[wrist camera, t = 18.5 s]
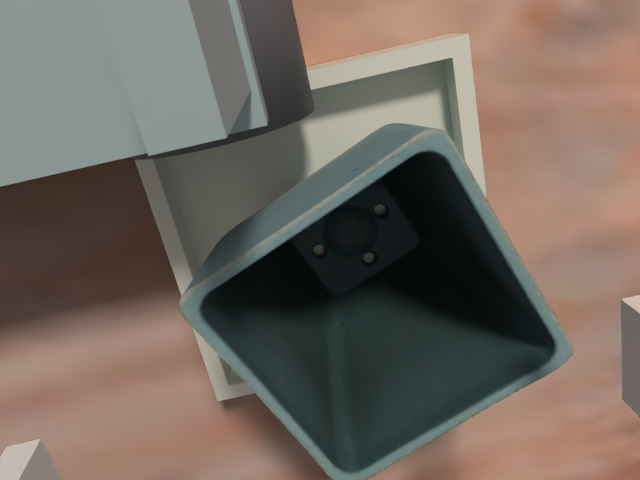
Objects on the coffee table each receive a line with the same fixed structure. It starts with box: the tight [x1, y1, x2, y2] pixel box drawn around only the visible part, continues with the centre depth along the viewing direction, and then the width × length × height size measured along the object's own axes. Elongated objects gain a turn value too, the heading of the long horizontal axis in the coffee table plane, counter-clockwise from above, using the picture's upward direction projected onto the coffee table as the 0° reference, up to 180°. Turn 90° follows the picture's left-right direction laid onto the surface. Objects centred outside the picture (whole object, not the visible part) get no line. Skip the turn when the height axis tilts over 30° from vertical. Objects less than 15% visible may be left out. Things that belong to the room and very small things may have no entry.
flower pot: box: [179, 123, 574, 480], centre depth 20 cm, size 9×9×9 cm
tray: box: [135, 33, 486, 401], centre depth 24 cm, size 13×13×2 cm
